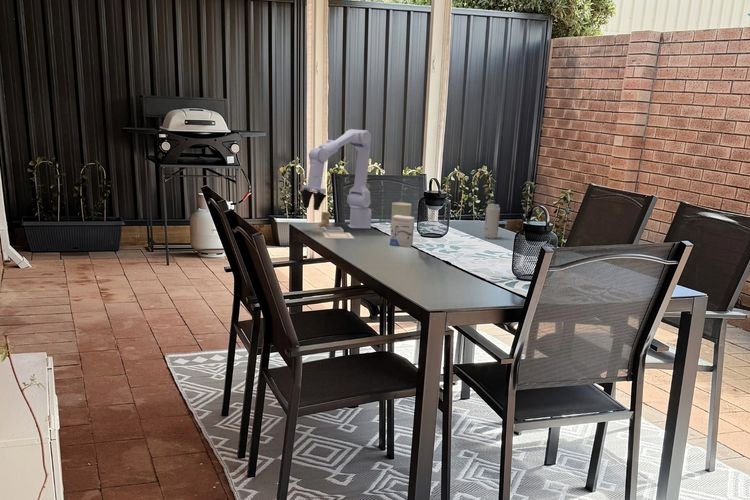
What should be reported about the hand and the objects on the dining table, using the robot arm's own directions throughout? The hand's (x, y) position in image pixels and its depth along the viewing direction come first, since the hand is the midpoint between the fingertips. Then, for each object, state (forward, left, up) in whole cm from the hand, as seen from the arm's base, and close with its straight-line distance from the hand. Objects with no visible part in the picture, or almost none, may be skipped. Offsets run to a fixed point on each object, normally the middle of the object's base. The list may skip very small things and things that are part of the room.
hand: (310, 208), depth 284 cm
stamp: (-9, -18, -11) cm, 23 cm away
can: (-44, -17, -11) cm, 49 cm away
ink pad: (-11, -8, -11) cm, 17 cm away
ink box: (-34, +22, -11) cm, 42 cm away
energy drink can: (-80, +4, -11) cm, 81 cm away
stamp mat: (-11, +5, -11) cm, 16 cm away
